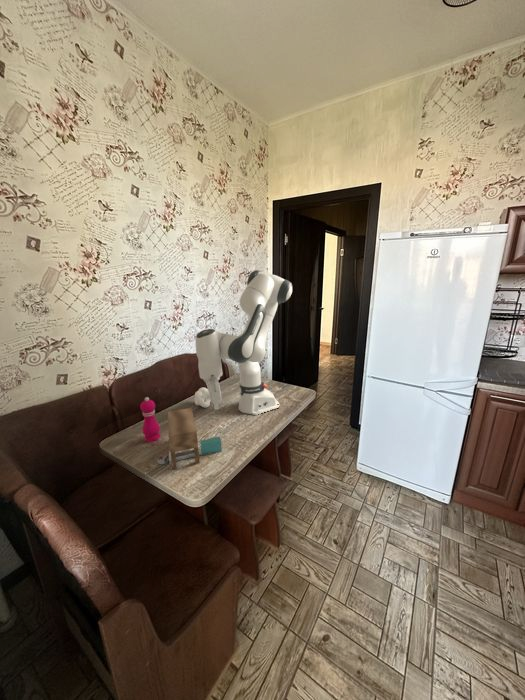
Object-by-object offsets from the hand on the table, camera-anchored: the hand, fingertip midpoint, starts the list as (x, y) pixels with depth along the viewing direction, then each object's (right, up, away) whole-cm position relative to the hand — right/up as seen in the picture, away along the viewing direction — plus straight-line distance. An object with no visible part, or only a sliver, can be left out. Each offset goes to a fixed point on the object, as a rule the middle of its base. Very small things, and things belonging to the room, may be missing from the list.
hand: (214, 403), depth 112 cm
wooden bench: (-13, -20, +3) cm, 24 cm away
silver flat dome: (-20, -22, -3) cm, 30 cm away
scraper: (-8, -21, +1) cm, 22 cm away
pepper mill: (-30, -18, +13) cm, 38 cm away
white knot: (-14, -9, +45) cm, 48 cm away
